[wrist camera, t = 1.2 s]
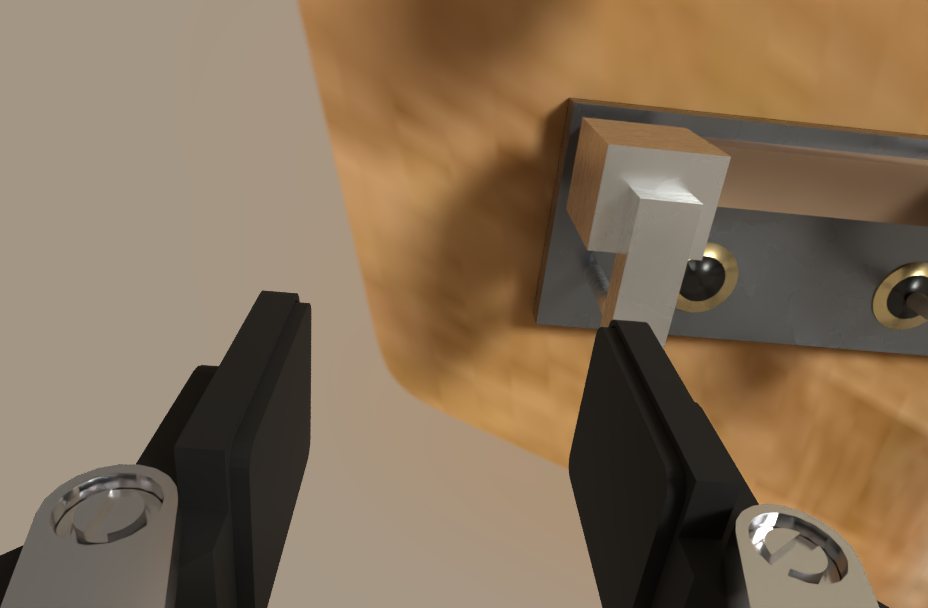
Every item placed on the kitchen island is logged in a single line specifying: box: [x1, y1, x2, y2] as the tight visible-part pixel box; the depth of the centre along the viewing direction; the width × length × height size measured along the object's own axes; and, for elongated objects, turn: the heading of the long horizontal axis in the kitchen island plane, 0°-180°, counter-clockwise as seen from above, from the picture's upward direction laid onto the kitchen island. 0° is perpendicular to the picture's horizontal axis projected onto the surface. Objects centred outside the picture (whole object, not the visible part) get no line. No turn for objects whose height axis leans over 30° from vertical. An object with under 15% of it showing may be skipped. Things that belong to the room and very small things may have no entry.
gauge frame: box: [700, 136, 928, 320], centre depth 26 cm, size 7×21×8 cm, turn 84°
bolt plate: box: [533, 98, 928, 356], centre depth 30 cm, size 10×22×1 cm, turn 84°
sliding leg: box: [566, 117, 731, 349], centre depth 25 cm, size 7×4×7 cm, turn 174°
